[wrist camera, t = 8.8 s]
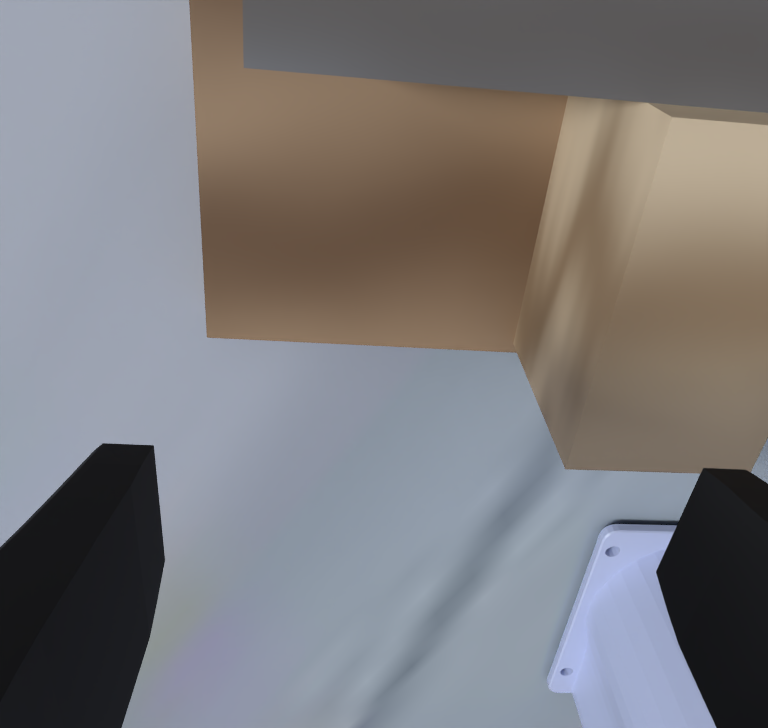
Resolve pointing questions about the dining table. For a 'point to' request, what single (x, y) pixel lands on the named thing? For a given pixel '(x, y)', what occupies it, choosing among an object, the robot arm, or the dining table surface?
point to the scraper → (606, 200)
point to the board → (363, 201)
